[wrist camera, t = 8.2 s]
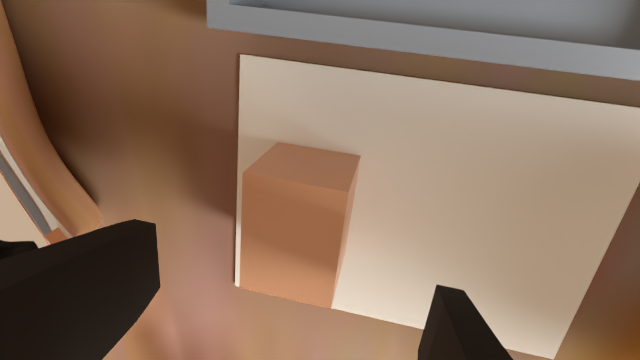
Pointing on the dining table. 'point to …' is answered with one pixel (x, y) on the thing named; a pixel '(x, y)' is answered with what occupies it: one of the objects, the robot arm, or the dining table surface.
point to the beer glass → (33, 169)
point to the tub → (458, 29)
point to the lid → (427, 195)
